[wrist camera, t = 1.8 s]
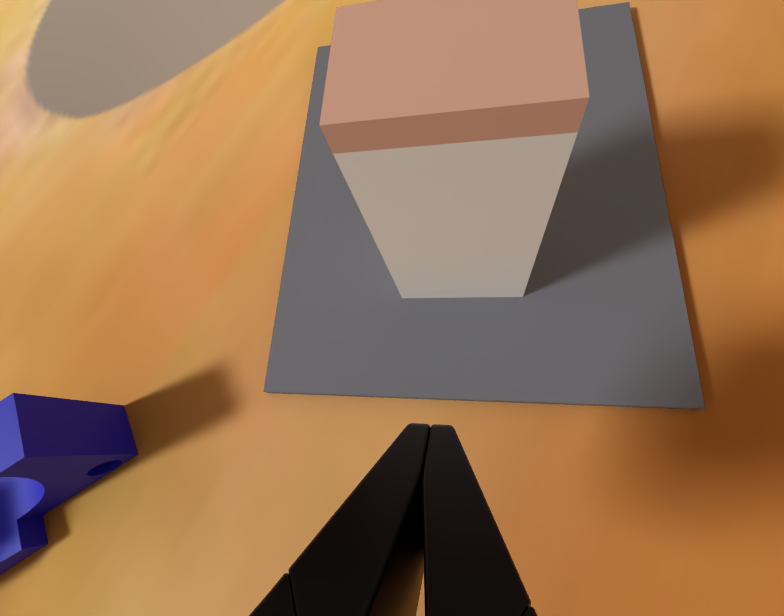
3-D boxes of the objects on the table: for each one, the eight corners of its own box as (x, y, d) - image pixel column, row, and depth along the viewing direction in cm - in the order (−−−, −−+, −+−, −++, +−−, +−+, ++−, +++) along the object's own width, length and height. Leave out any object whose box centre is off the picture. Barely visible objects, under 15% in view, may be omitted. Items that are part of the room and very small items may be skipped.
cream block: (522, 296, 19) (589, 97, 8) (402, 298, 21) (319, 125, 10) (519, 225, 21) (573, -32, 10) (405, 230, 22) (336, 7, 11)
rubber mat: (697, 409, 17) (705, 408, 16) (269, 392, 21) (263, 391, 20) (625, 12, 25) (629, 1, 24) (321, 54, 29) (317, 47, 28)
